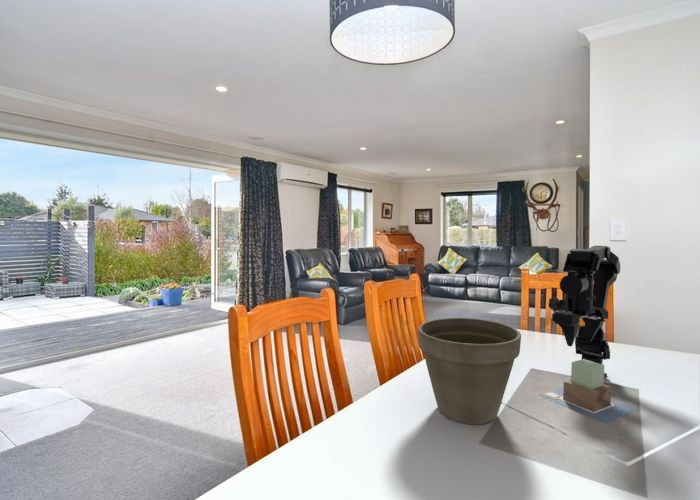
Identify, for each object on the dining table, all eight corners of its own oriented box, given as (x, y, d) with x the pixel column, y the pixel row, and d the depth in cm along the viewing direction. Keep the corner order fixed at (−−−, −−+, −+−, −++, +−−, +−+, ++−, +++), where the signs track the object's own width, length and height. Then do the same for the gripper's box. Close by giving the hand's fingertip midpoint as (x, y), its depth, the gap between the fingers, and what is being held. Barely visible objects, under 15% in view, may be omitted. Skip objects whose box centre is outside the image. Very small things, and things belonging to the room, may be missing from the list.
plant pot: (446, 443, 87) (448, 346, 85) (402, 396, 110) (403, 320, 109) (541, 428, 93) (544, 338, 92) (480, 387, 117) (482, 315, 116)
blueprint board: (571, 386, 118) (571, 384, 118) (638, 411, 102) (638, 408, 102) (538, 396, 111) (538, 394, 111) (605, 425, 95) (605, 422, 95)
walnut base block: (580, 393, 112) (581, 376, 112) (610, 404, 105) (611, 386, 105) (563, 399, 108) (563, 381, 108) (592, 411, 101) (593, 392, 101)
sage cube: (582, 378, 110) (583, 359, 110) (603, 385, 105) (604, 365, 105) (570, 382, 107) (571, 362, 107) (591, 389, 103) (592, 368, 102)
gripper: (574, 285, 128) (572, 333, 129) (536, 289, 119) (534, 341, 120) (610, 290, 118) (608, 342, 119) (572, 295, 109) (569, 351, 110)
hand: (579, 343), depth 117 cm, fingers open, 9 cm apart
